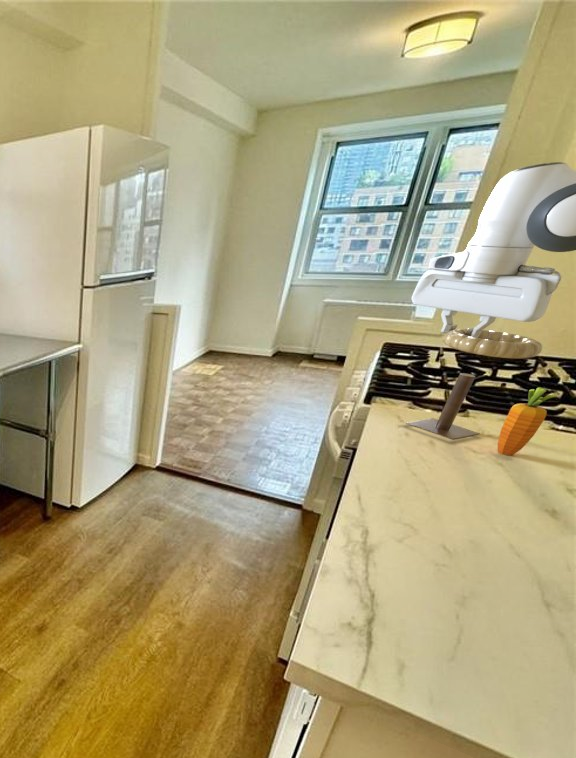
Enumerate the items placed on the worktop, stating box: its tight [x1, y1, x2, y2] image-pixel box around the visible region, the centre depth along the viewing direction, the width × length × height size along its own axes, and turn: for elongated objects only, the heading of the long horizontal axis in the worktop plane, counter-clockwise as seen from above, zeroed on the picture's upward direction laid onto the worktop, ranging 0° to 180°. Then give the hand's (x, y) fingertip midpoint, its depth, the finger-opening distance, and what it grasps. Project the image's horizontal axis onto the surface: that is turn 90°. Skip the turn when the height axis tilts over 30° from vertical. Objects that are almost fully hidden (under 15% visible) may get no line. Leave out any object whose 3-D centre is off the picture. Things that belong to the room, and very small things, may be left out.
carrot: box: [497, 387, 558, 457], centre depth 92 cm, size 5×5×15 cm
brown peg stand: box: [405, 372, 480, 440], centre depth 103 cm, size 9×9×14 cm
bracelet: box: [442, 328, 543, 360], centre depth 93 cm, size 14×14×3 cm
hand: (458, 335), depth 98 cm, fingers closed on bracelet, 3 cm apart
